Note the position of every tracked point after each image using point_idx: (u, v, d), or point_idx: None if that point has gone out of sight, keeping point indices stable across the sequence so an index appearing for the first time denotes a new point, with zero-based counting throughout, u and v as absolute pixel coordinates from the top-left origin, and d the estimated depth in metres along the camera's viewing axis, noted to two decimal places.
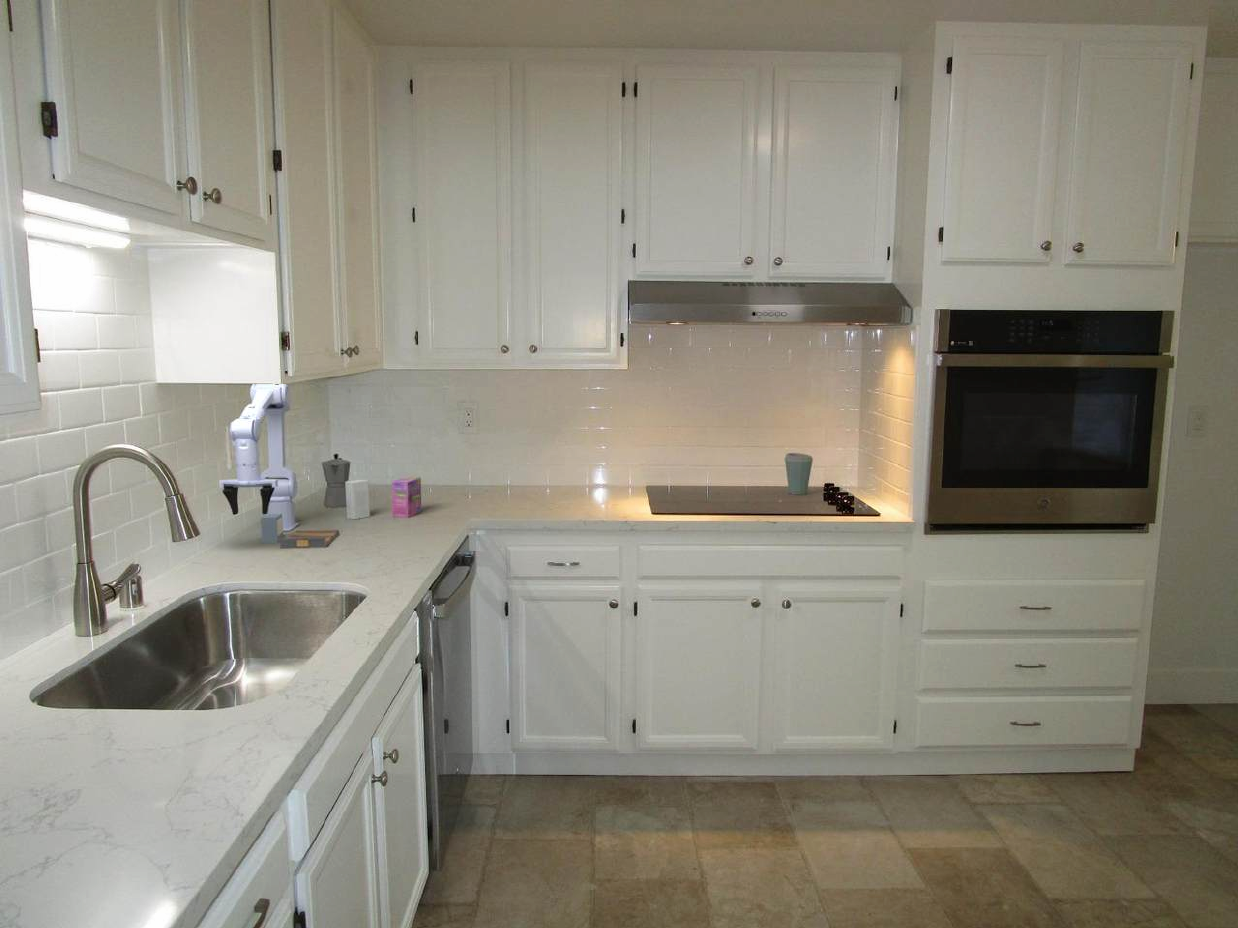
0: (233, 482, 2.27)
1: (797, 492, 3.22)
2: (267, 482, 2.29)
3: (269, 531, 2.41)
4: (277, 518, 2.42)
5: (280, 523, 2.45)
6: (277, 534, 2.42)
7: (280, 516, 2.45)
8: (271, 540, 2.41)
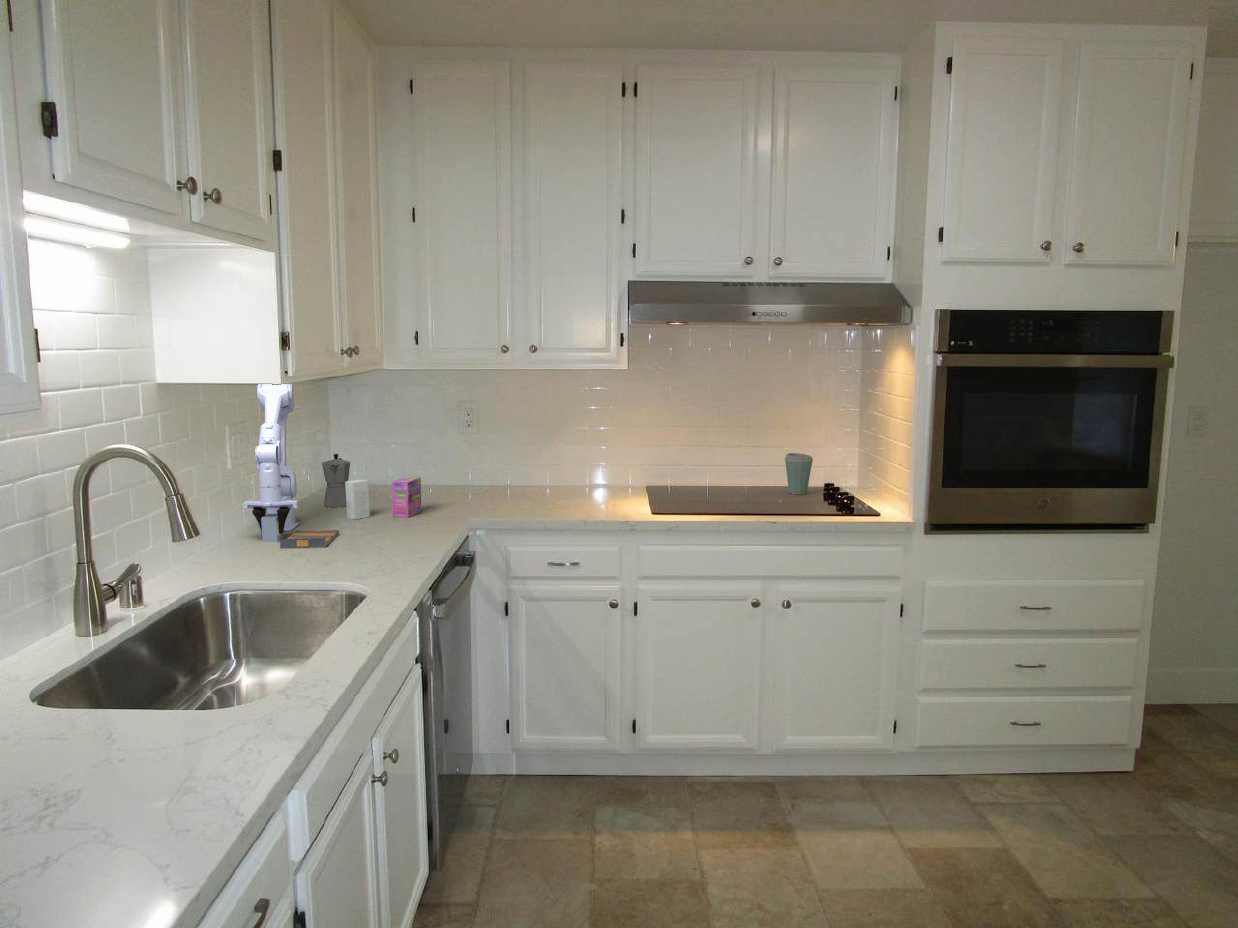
0: (257, 503, 2.41)
1: (797, 492, 3.22)
2: (289, 503, 2.42)
3: (269, 531, 2.41)
4: (277, 518, 2.42)
5: None
6: (277, 534, 2.42)
7: None
8: (271, 540, 2.41)
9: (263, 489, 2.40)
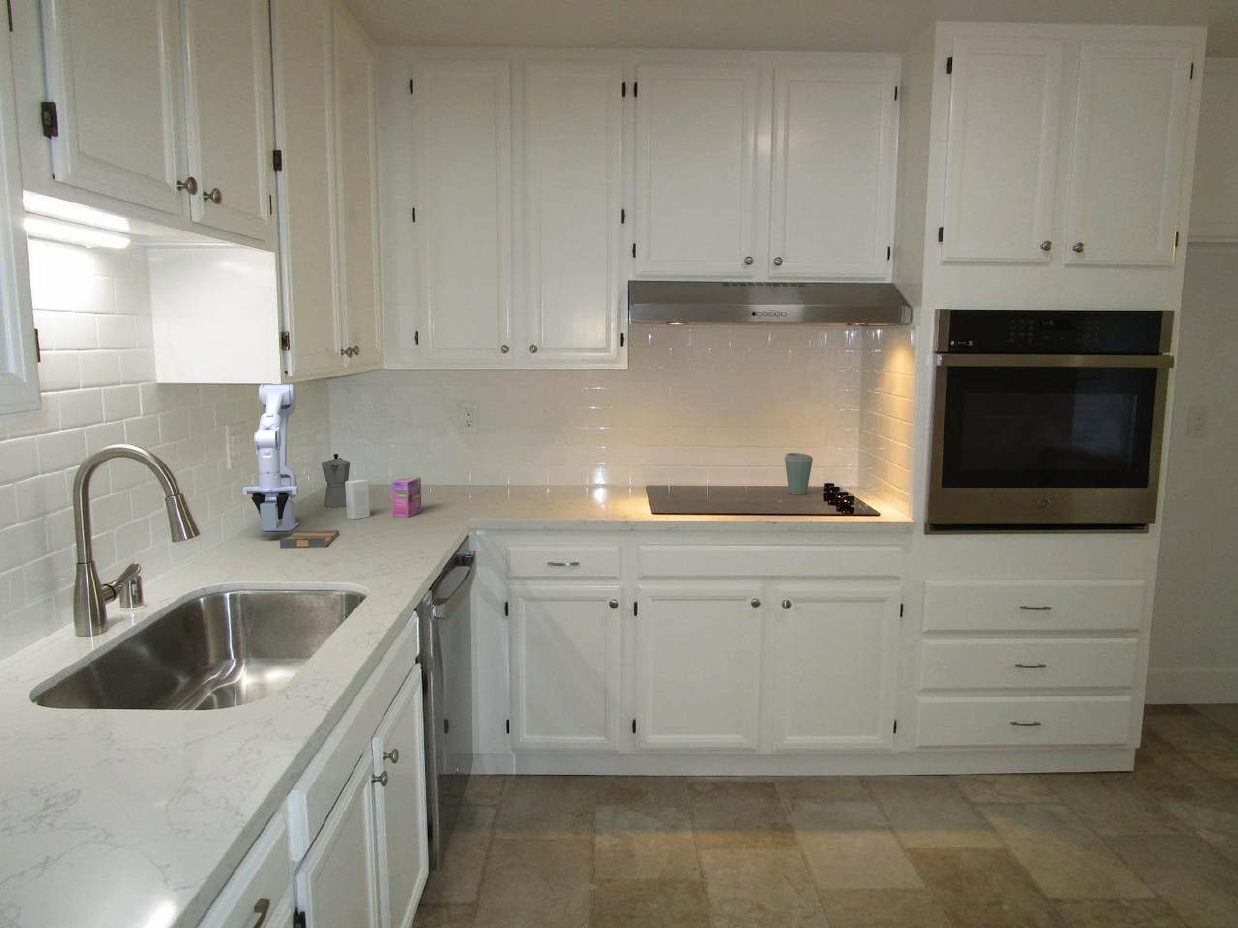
0: (256, 489, 2.40)
1: (797, 492, 3.22)
2: (288, 489, 2.42)
3: (268, 518, 2.40)
4: (276, 505, 2.42)
5: None
6: (276, 521, 2.41)
7: None
8: (270, 527, 2.41)
9: (262, 475, 2.39)
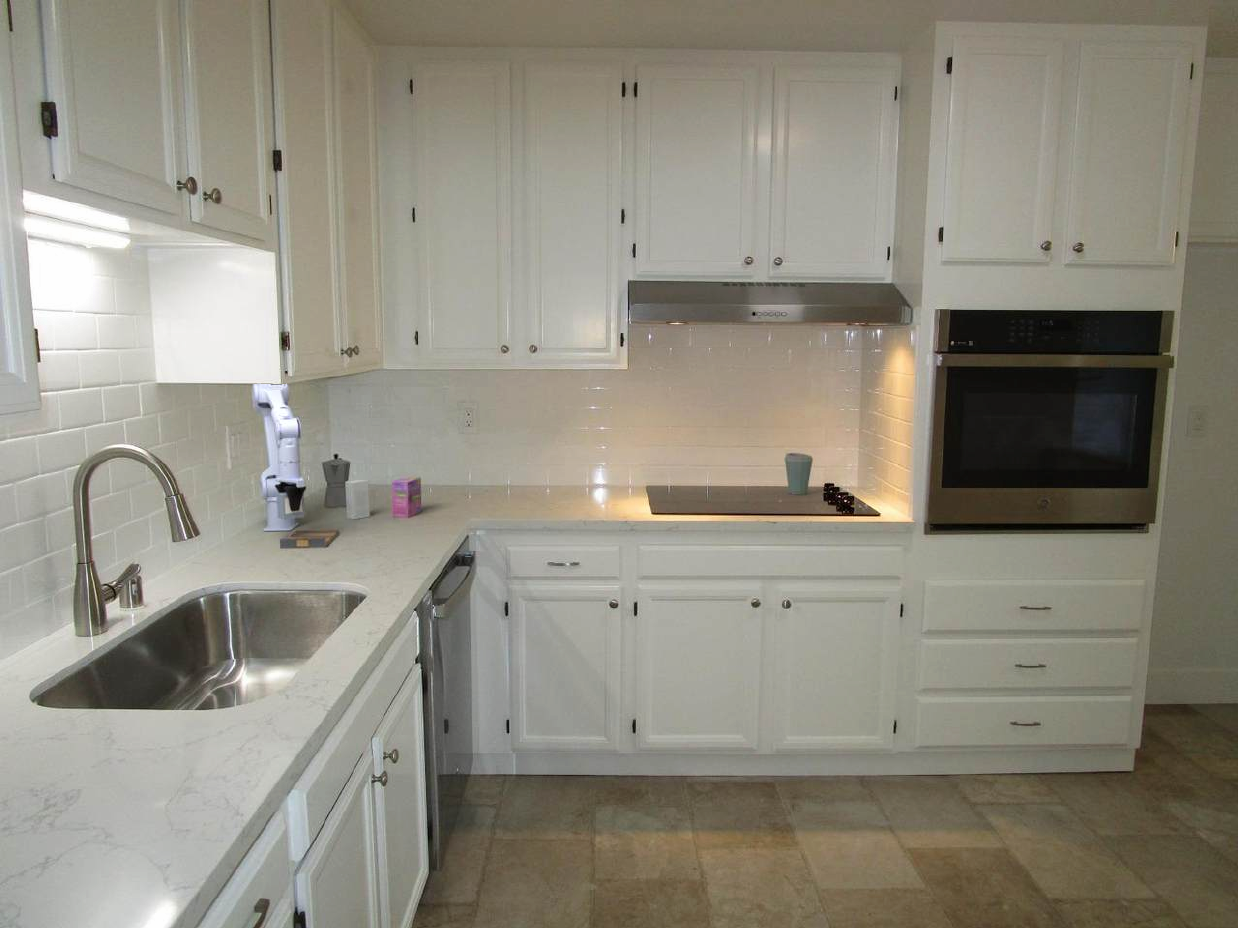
0: (278, 477, 2.42)
1: (797, 492, 3.22)
2: (293, 481, 2.36)
3: (280, 507, 2.40)
4: (287, 496, 2.39)
5: None
6: (285, 512, 2.39)
7: None
8: (281, 517, 2.40)
9: (278, 464, 2.39)
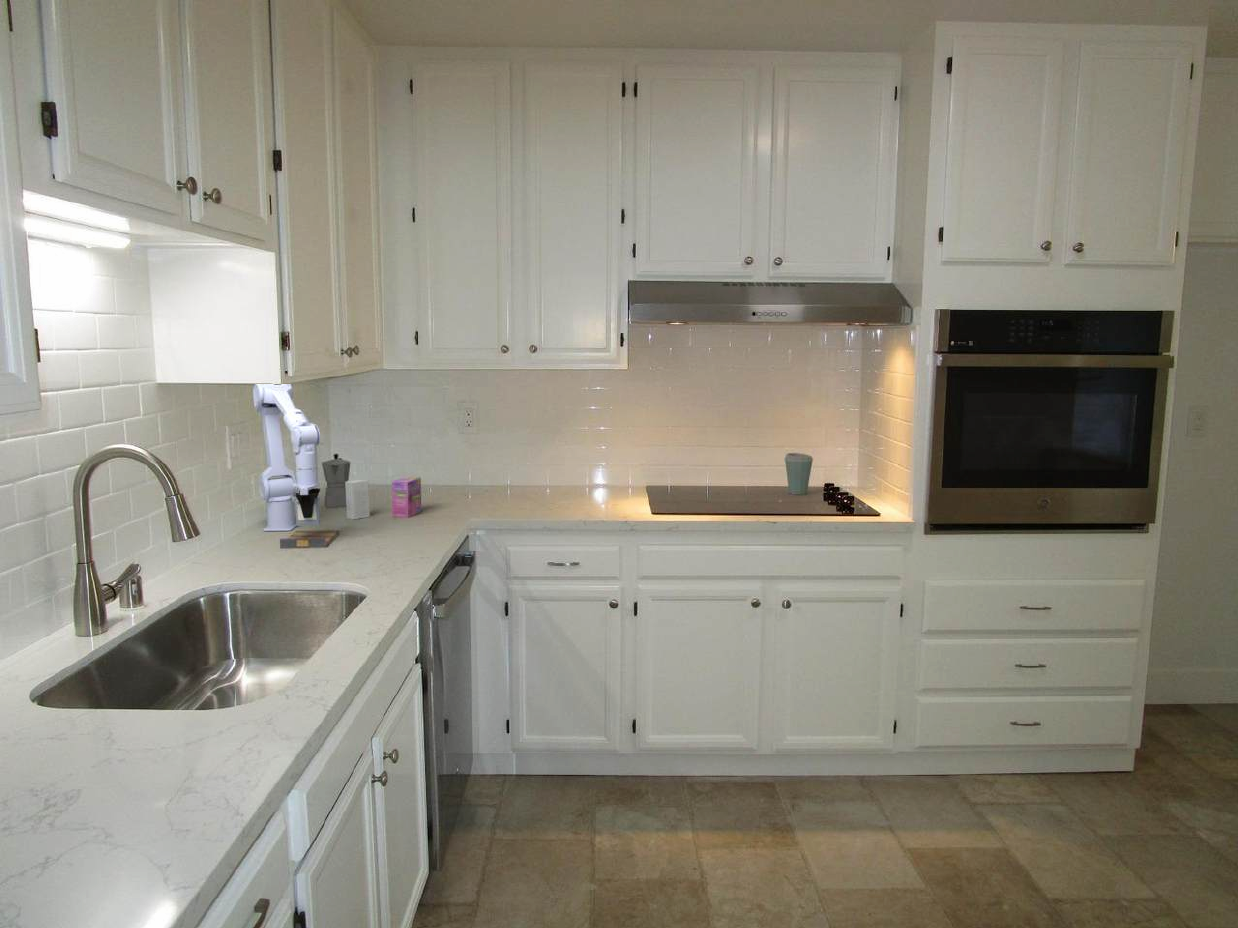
0: None
1: (797, 492, 3.22)
2: (299, 488, 2.35)
3: None
4: None
5: None
6: (298, 518, 2.39)
7: None
8: None
9: None
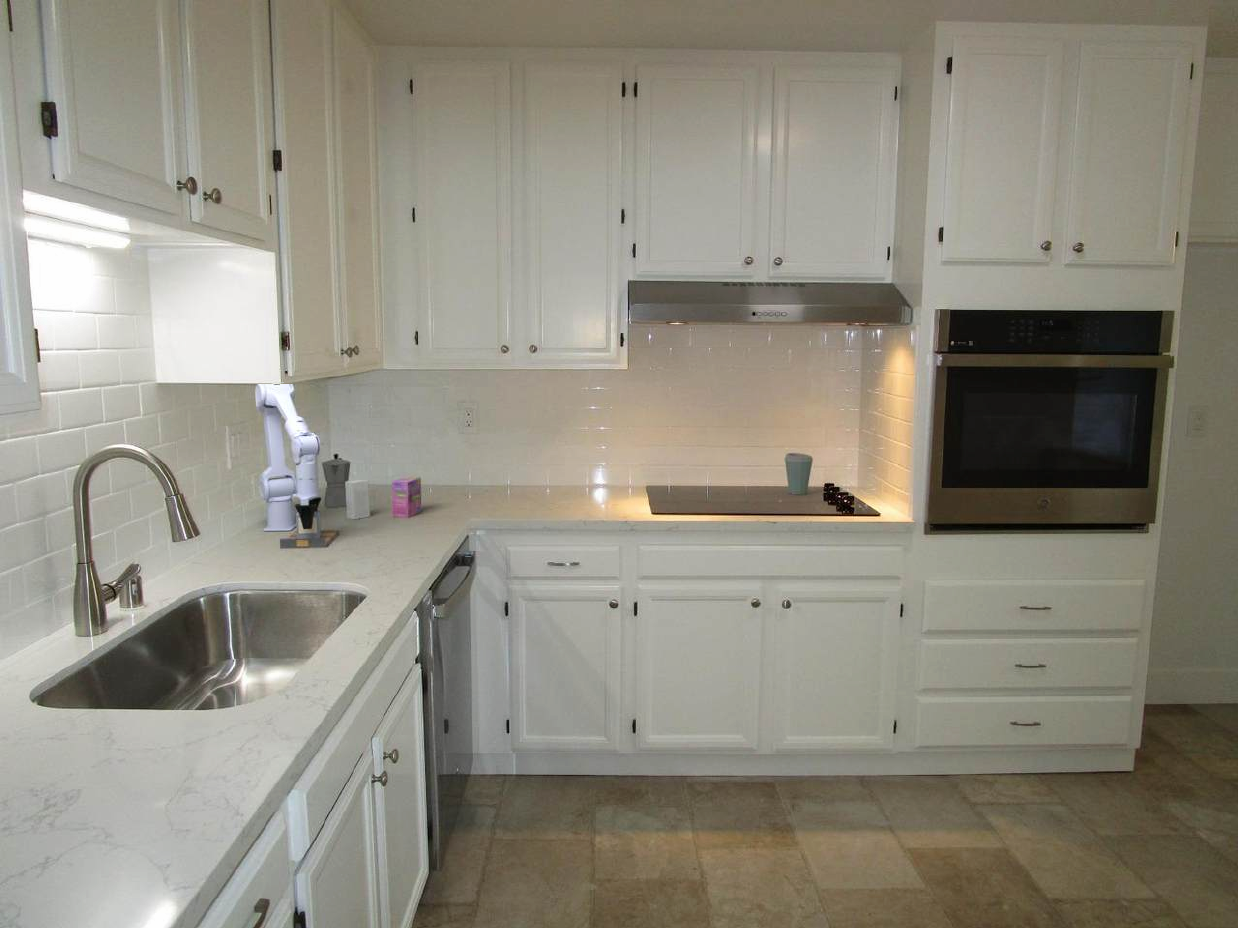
0: None
1: (797, 492, 3.22)
2: (300, 499, 2.35)
3: None
4: None
5: None
6: (299, 531, 2.40)
7: None
8: None
9: None
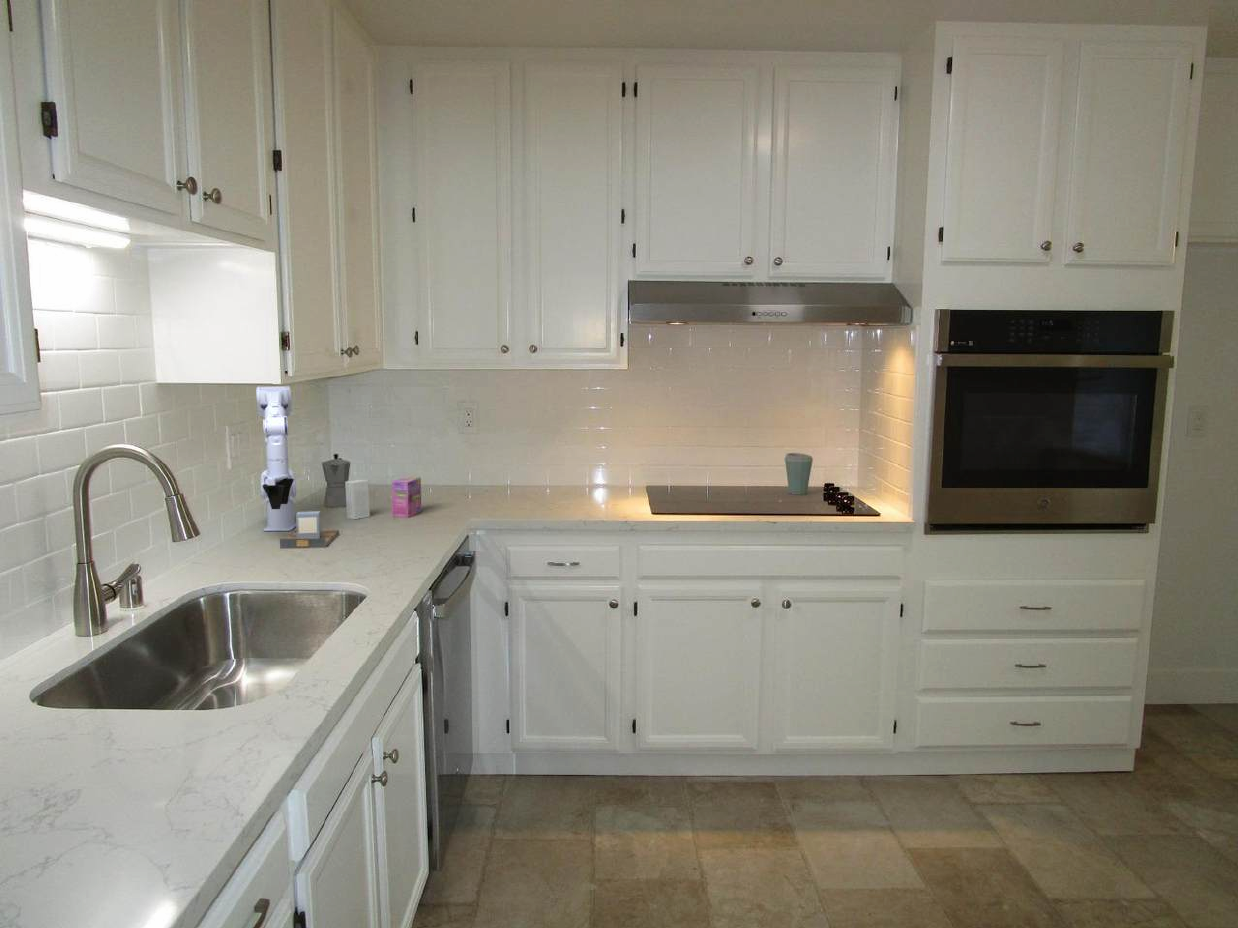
0: None
1: (797, 492, 3.22)
2: None
3: None
4: (301, 516, 2.39)
5: (310, 522, 2.40)
6: (299, 531, 2.40)
7: (312, 515, 2.40)
8: None
9: None
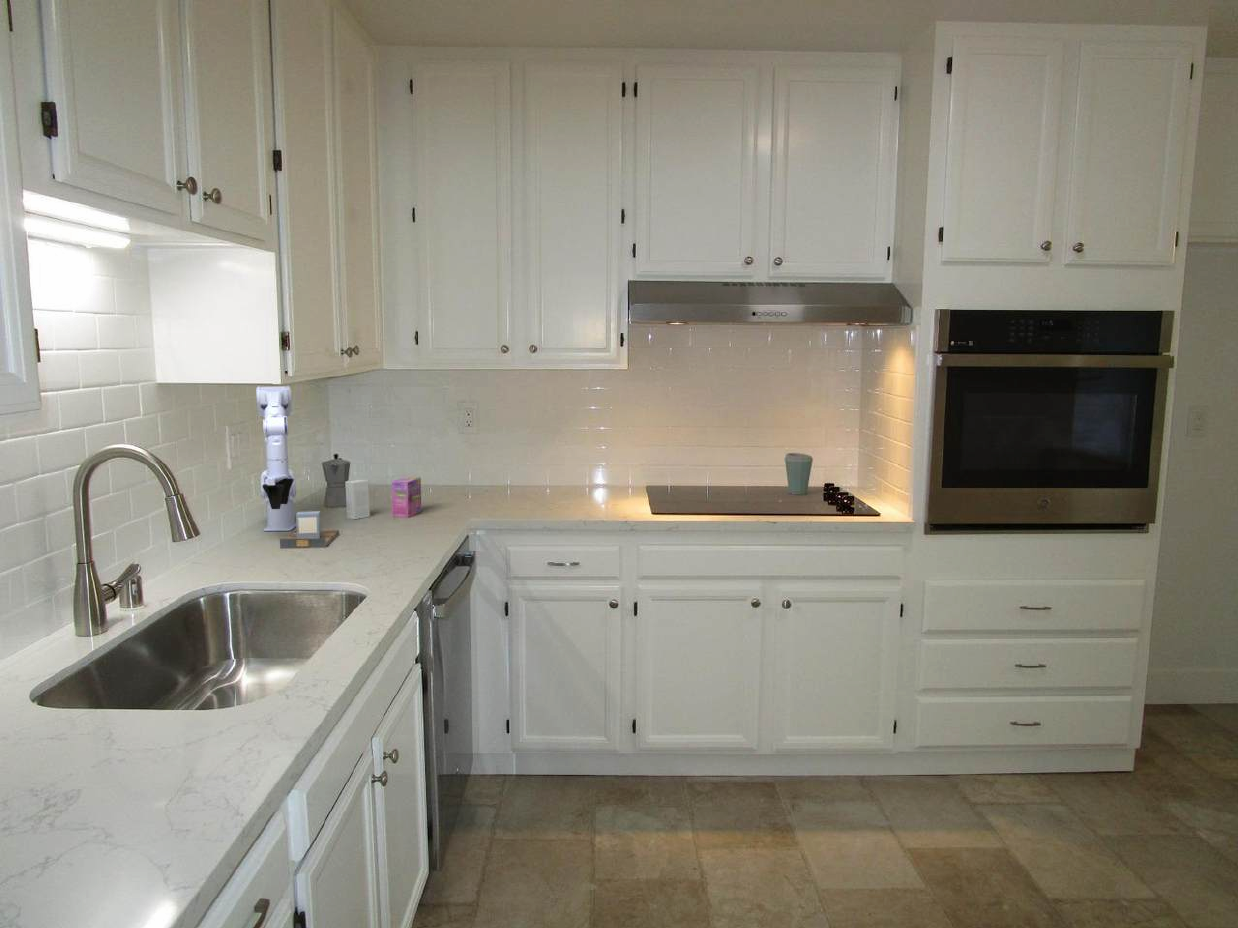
0: None
1: (797, 492, 3.22)
2: None
3: None
4: (301, 516, 2.39)
5: (310, 522, 2.40)
6: (299, 531, 2.40)
7: (312, 515, 2.40)
8: None
9: None
